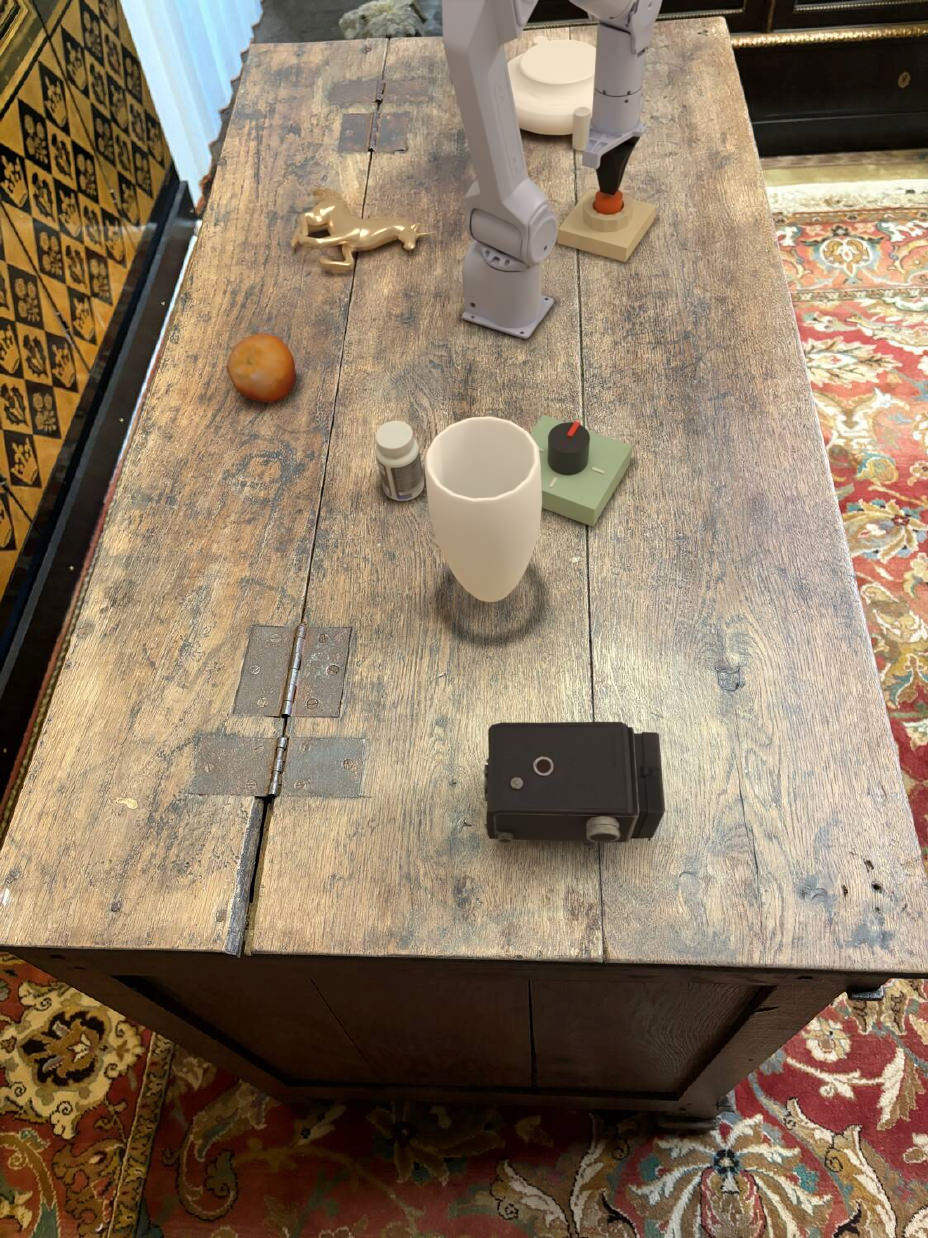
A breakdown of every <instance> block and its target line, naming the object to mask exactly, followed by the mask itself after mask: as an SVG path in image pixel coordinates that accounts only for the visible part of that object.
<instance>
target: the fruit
mask: <svg viewBox="0 0 928 1238" xmlns="http://www.w3.org/2000/svg"><path fill="white" fill-rule="evenodd" d="M225 368H226V372H227V373H228V376H229V379H230V381H231V383H232V386H233V387H234V388H235V389H236V390H237V392H239V393H240V394H242V395H243V396H245V397H247V398H248V399H252V400H253V401H256V402H261V403H277V402H280V401H282V400H284V399H286V398H287V397H288V396H289V395H290V393H291V392H292V391H293V389H294V387H295V384H296V364H295V359H294V357H293V354H292V352H291V350H290V349H289V347H288V345H286V343H285V342H284V341H283V340H282V339H281V338H280V337H278V336H276V335H272V334H265V333H259V334H252V335H249V336H246V337H244V338H243V339H242V340H240V341H238V342H237V344H236V345H234V347H233V348H232V350H231V352H230V355H229V357H228V360H227V363H226V367H225Z"/></svg>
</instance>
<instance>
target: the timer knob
mask: <svg viewBox="0 0 928 1238" xmlns="http://www.w3.org/2000/svg"><path fill="white" fill-rule="evenodd" d="M565 422H566V421H565ZM587 430H588V429H587V428H586V427H585V426H583V425H582V424H581V422H580V421H576V420H575V421H574V422H571V421H567V422H566V423H561V424H558V425H556V426H555V427H553V428H552V429H551V431H550V432H549V435H548V464H549V466H550V467H551V469H552V470H554V471H555V472H557V473H559V474H563V475H573V474H577V473H579V472H581V471H582V470H584V468H585V467H586V466H587V464H588V456H589V444H590V435H589V432H588V431H587Z"/></svg>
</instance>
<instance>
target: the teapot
mask: <svg viewBox="0 0 928 1238" xmlns="http://www.w3.org/2000/svg"><path fill="white" fill-rule="evenodd" d="M595 57H596V46H595V47H594V45H591V44H589V43H587V42H584V41H580V40H576V39H565V38H564V39H561V38H560V39H553V40H549V37H547V36H546V35H536V36H534V38H533V39H532V46H531V47H529V48H528V49H527V50H525V51H524V52H523V53H520V54H518V55H516V56H515V57H513V58H512V59H510V60H509V61H507V65H508V71H509V76H510V81H511V87H512V92H513V97H514V103H515V108H516V113H517V119H518V124H519V129H520V130H524V131H528V132H531V133H534V134H537V135H538V134H539V135H545V136H547V135H548V136H566V135H572V139H571V141H572V144H571V147H572V149H573V150H575V151H578V152H580V151H581V152H583V150H584V148H585V146H586V144H587V138H588V131H589V124H590V119H591V117H592V106H593V90H594V74H595Z"/></svg>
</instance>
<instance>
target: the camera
mask: <svg viewBox="0 0 928 1238" xmlns="http://www.w3.org/2000/svg"><path fill="white" fill-rule="evenodd" d="M487 734H488V735H487V736H488V739H487V740H488V741H487V743H488V755H487V756H488V757H487V759H485V762H486V764H484V769H483V770H482V773H483V775H484V776H483V791H484V792H483V793H484V798H483V799H484V802H486V813H485V814H486V815H485V818H486V819H485V820H486V821H485V822H486V823H485V824H483V828H484V829H486V833H487V837H488V839H489V840H497V842H499V843H500V844H511V843H513V842H514V841H531V842H558V843H561V842H562V843H589V844H592V843H593V844H596V843H597V844H600V843H601V844H612V843H629V842H630V841H631V840H634V839H635V840H638V839H639V840H641V839H642V840H643V839H647V841H648V842H650V841H651V839H653V837H654V836H655V834H656V832H657V830H658V828H659V825H660V824H661V821H662V818H663V817H664V814H665V812H666V805H665V804H666V803H665V792H664V781H663V780H664V779H663V769H662V767H663V766H662V756H661V755H662V754H661V743H660V734H659V733H658V732H657V731H656V732H653V731H642V732H640V733H639V732H638V733H636V732H635V729H634V727H632V726H628V724H627V723H625V722H623V721H559V722H557V721H555V722H552V721H551V722H529V721H528V722H527V721H526V722H524V721H519V722H518V721H516V722H507V721H506V722H505V721H503V722H497V723H493V724H491V725H490V726H489V727H488V729H487Z"/></svg>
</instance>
